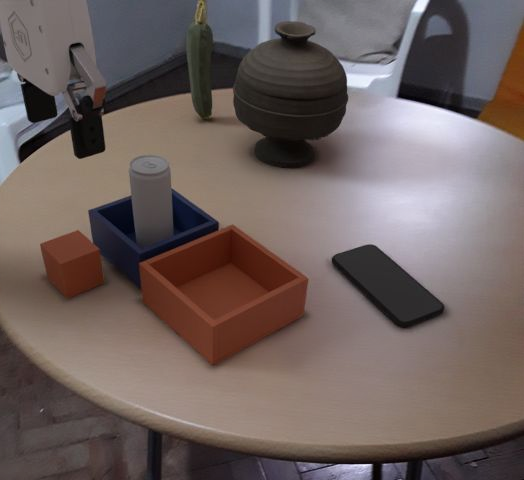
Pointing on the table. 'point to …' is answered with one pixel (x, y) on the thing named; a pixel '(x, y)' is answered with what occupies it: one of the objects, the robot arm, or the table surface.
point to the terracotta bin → (223, 292)
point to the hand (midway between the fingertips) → (66, 136)
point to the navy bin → (124, 237)
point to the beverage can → (151, 199)
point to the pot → (290, 95)
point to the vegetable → (200, 61)
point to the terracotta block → (72, 263)
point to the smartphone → (388, 285)
